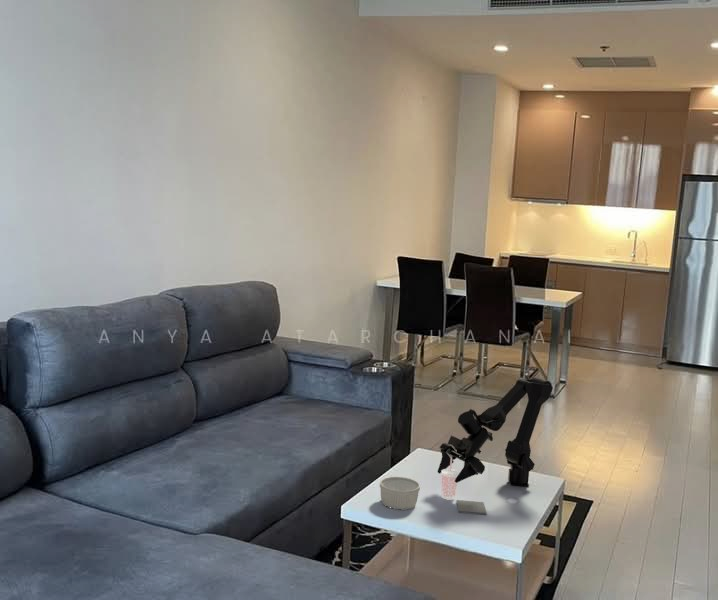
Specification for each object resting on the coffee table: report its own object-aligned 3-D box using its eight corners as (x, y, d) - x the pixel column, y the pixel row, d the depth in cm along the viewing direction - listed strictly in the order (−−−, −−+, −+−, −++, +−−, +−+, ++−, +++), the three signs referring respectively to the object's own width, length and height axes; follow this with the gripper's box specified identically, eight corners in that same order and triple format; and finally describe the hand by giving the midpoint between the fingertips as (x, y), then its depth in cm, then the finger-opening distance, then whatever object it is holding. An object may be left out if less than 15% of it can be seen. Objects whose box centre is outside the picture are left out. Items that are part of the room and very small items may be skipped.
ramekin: (370, 502, 241) (371, 482, 240) (395, 492, 251) (396, 473, 250) (402, 515, 233) (403, 494, 232) (426, 504, 243) (428, 484, 242)
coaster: (483, 503, 246) (483, 502, 246) (486, 514, 237) (486, 513, 237) (456, 501, 247) (456, 499, 246) (458, 512, 238) (458, 510, 238)
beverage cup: (438, 499, 248) (441, 459, 246) (439, 492, 254) (443, 453, 252) (456, 501, 247) (460, 461, 245) (457, 495, 253) (460, 455, 251)
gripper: (445, 420, 257) (418, 454, 253) (481, 435, 242) (452, 472, 237) (461, 439, 262) (434, 473, 258) (497, 456, 247) (469, 492, 242)
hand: (446, 477), depth 249 cm, fingers open, 9 cm apart
